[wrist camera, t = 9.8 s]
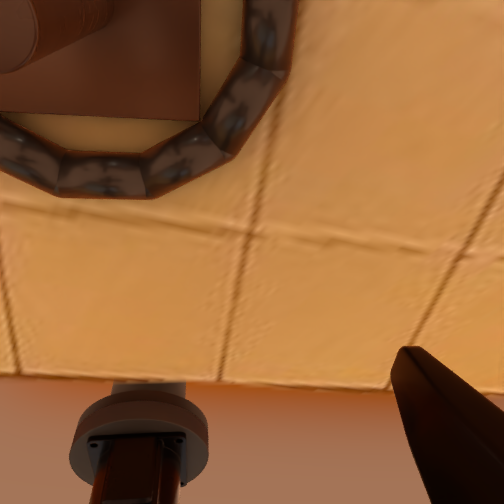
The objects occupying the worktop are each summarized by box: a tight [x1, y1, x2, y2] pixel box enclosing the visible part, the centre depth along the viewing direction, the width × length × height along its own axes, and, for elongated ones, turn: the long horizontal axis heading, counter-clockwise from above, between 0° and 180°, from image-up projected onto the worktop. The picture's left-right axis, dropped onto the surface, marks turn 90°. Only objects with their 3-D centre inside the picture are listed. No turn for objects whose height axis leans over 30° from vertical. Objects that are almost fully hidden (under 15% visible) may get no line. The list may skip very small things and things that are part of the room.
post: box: [0, 0, 201, 121], centre depth 11 cm, size 8×8×9 cm
